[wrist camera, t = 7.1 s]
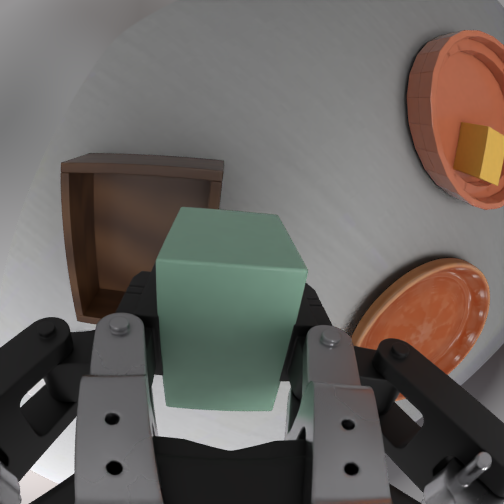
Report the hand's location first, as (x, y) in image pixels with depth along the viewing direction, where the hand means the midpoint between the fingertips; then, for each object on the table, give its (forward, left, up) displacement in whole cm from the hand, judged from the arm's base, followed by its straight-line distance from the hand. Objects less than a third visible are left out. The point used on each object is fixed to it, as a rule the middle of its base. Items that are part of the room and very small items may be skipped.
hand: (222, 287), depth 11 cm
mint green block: (0, 0, -1) cm, 1 cm away
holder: (+5, -7, -17) cm, 19 cm away
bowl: (-13, +25, -17) cm, 33 cm away
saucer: (+15, +27, -17) cm, 35 cm away
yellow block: (-9, +25, -16) cm, 32 cm away
